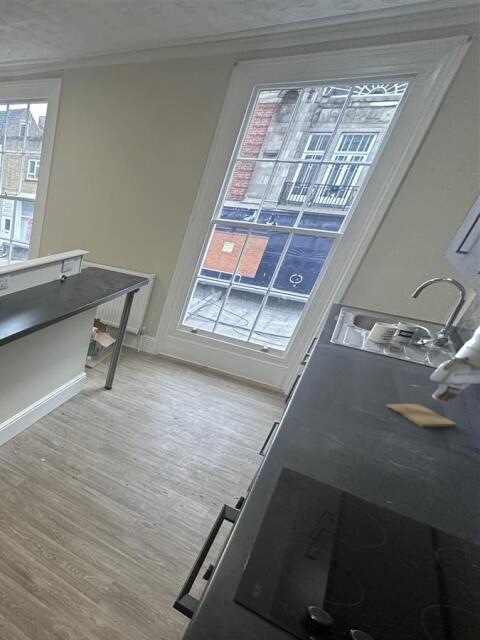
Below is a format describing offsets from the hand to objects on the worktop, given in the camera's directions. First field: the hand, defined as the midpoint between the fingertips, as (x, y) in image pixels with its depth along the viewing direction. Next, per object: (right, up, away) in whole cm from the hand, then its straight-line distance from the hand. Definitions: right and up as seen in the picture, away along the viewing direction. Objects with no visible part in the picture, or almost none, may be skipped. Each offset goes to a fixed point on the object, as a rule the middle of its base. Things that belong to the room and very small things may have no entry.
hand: (446, 393), depth 137 cm
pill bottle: (0, -2, +2) cm, 3 cm away
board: (-5, -8, +4) cm, 10 cm away
